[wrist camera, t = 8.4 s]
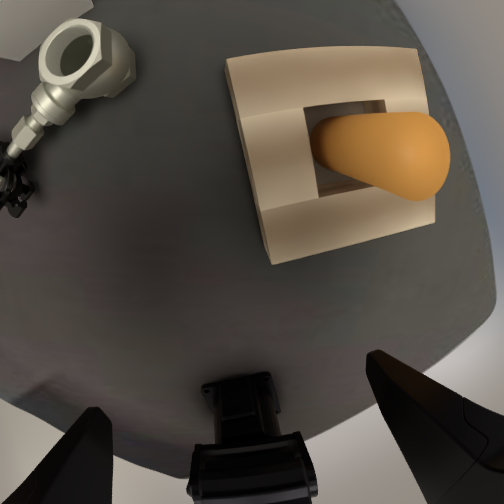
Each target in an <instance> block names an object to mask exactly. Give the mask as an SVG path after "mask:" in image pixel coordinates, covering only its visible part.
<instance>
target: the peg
mask: <svg viewBox="0 0 504 504" xmlns="http://www.w3.org/2000/svg"><path fill="white" fill-rule="evenodd" d="M310 147H311V153H312V155H313V157H314V159H315V160H316V161H317V162H318V163H319V164H320V165H321V166H323V167H324V168H327V169H329V170H332V171H335V172H338V173H341V174H343V175H346V176H349V177H352V178H354V179H357V180H360V181H362V182H365V183H368V184H370V185H373V186H375V187H378V188H380V189H383V190H385V191H388V192H390V193H393V194H395V195H397V196H400V197H402V198H405V199H407V200H410V201H423V200H426V199H428V198H430V197H432V196H433V195H434V194H435V193H436V192H438V190H439V189H440V188H441V187H442V185H443V183H444V181H445V179H446V177H447V174H448V171H449V165H450V149H449V144H448V140H447V138H446V135H445V133H444V131H443V129H442V128H441V126H440V125H439V124H438V123H437V122H436V121H435V120H434V119H433V118H432V117H430V116H428V115H427V114H424V113H421V112H389V113H371V114H357V115H345V116H335V117H328V118H325V119H323V120H321V121H320V122H318V123H317V124H316V125H315V127H314V128H313V130H312V132H311V135H310Z"/></svg>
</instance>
